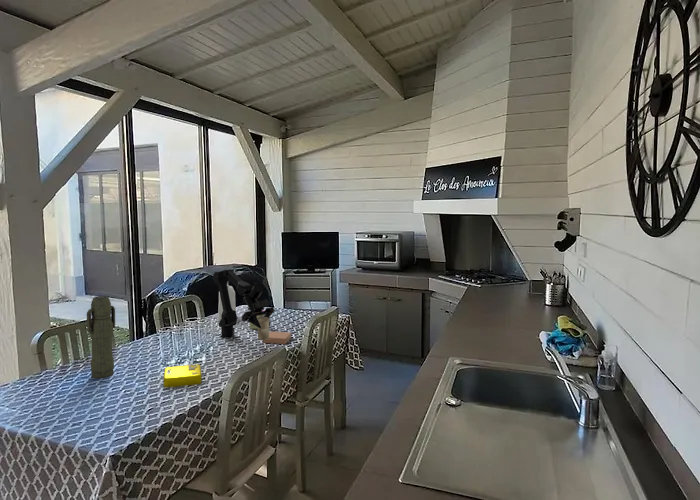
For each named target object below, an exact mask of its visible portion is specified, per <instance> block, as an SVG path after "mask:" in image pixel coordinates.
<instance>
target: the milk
mask: <svg viewBox="0 0 700 500" xmlns="http://www.w3.org/2000/svg"><path fill="white" fill-rule="evenodd" d="M227 288H228V293H229V298H230V303H231V308H232V309H233V310H235V311H236V310H237V309H236V291H235V290H234V287H233V286H232V285H229V282H228V283H227ZM217 311H218V313H217V319H218V320H217V321H218V322H220V320H221V319H222V317H221V315H222V312H223V307H222V302H221V297H220V292H219V291H218V310H217ZM236 312H237V311H236Z"/></svg>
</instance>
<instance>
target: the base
mask: <svg viewBox="0 0 700 500" xmlns="http://www.w3.org/2000/svg"><path fill="white" fill-rule="evenodd" d="M290 339H292V332H285V331H283V332H282V331H269V339H267V340H262V343H263V344H267V343H268V344H279V345H280V344H283V345H286V344H287V343H288V342H289V340H290Z"/></svg>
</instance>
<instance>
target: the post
mask: <svg viewBox="0 0 700 500" xmlns="http://www.w3.org/2000/svg"><path fill="white" fill-rule="evenodd" d="M258 322H259V324H260V326H261V328H258V329H257V340H260V341H263V340H267V339H269V332H270V326H269V318H268V317H260V318H258Z"/></svg>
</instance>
